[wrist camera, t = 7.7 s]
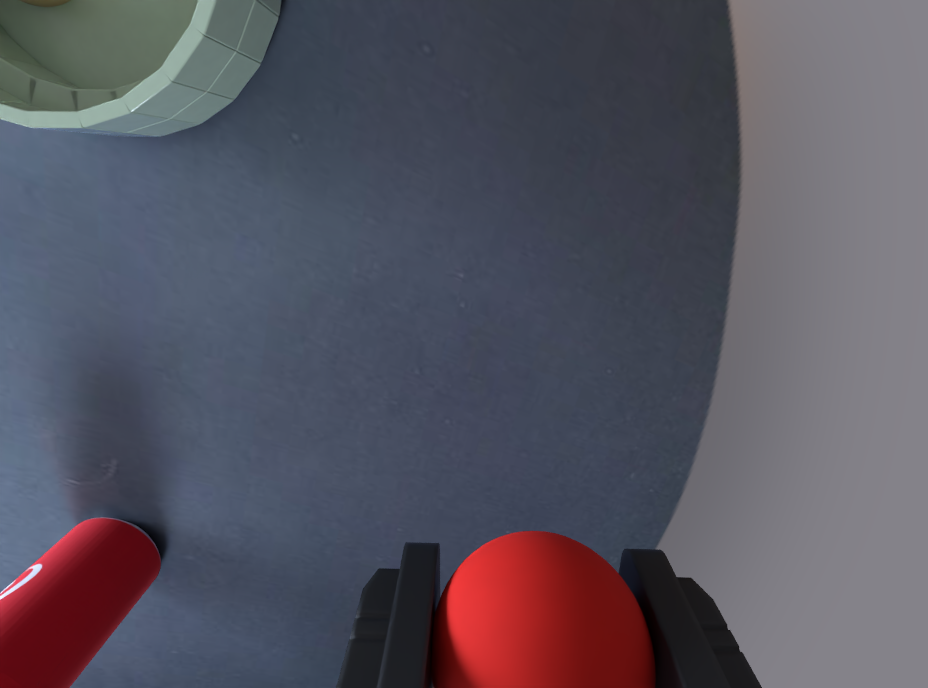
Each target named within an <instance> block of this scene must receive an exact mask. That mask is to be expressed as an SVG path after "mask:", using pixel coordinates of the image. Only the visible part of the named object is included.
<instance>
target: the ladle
mask: <svg viewBox="0 0 928 688" xmlns="http://www.w3.org/2000/svg"><path fill="white" fill-rule="evenodd" d="M19 1H22V2H25V3H27V4H30V5H34V6H40V7H54V6H58V5H62V4H64V3H67V2H69V1H70V0H19Z"/></svg>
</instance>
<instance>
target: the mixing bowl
mask: <svg viewBox="0 0 928 688" xmlns="http://www.w3.org/2000/svg"><path fill="white" fill-rule="evenodd" d="M280 7H281V0H70V1H69V2H67V3H64V4H62V5H58V6H54V7H40V6H34V5H30V4H27V3H25V2H22V1H19V0H0V119H1V120H5V121H8V122H12V123H15V124H19V125H22V126H26V127H30V128H38V129H48V130H58V131H69V132H79V133H89V134H99V135H110V136H129V137H159V136H164V135H168V134H171V133H174V132H177V131H181V130H184V129H187V128H190V127H194V126H197V125H199V124H202V123H203V122H205V121H206V120H207V119H209V118H210V117H212V116H213V115H214V114H216V113H217V112H219V111H220V110H221V109H223V108H224V107H226V106H227V105H228V104H230V103H231V102H233V101H234V99H236V97H237V96H238V95H239V93H240V92H241V91H242V89H243V88H244V87H245V85H246V84H247V83H248V81H249V80H250V79H251V77H252V76H253V75H254V73H255V72H256V70H257V69H258V68H259V66H260V65H261V62H262V61H263V58H264V55H265V53H266V50H267V48H268V45H269V42H270V40H271V37H272V34H273V32H274V29H275V26H276V24H277V21H278V18H279V17H278V16H279V15H280Z"/></svg>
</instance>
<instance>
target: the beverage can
mask: <svg viewBox="0 0 928 688" xmlns="http://www.w3.org/2000/svg"><path fill="white" fill-rule="evenodd" d="M160 567H161V558H160V554H159V551H158V549H157V547H156V545H155V543H154V542H153V541H152V539H151V538H150V536H149V535H148V534H147V533H146V532H145V531H143V530H142V529H141V528H139V527H138V526H136V525H134V524H132V523H129V522H126V521H124V520H120V519H115V518H105V517H100V518H92V519H88V520H86V521H83V522H81V523H79V524H78V525H77V526H75V527H74V528H73V529H72V530H71V531H70V532H69V533H68V534H66V535H65V536H64V537H63V538H62V539H61V540H60V541H59V542H57V543H56V544H55V545H54V546H53V547H52V548H51V549H50V550H48V551H47V552H46V553H45V554H44V555H43V556H42V557H41V558H39V559H38V560H37V561H36V562H35V563H34V564H33V565H31V566H30V567H29V568H28V569H27V570H26V571H25V572H24V573H22V574H21V575H20V576H19V577H18V578H17V579H16V580H15V581H13V582H12V583H11V584H10V585H9V586H8V587H7V588H6V589H4V590H3V591H2V592H1V593H0V688H70V686H71V685H72V684H73V682H74V681H75V680H76V679H77V677H78V676H79V675H80V674H81V672H82V671H83V670H84V669H85V667H86V666H87V665H88V663H89V662H90V661H91V660H92V658H93V657H94V656H95V655H96V653H97V652H98V651H99V650H100V648H101V647H102V646H103V644H104V643H105V642H106V641H107V639H108V638H109V637H110V636H111V634H112V633H113V632H114V630H115V629H116V628H117V627H118V625H119V624H120V623H121V622H122V620H123V619H124V618H125V617H126V615H127V614H128V613H129V611H130V610H131V609H132V608H133V606H134V605H135V604H136V603H137V601H138V600H139V599H140V598H141V596H142V595H143V594H144V592H145V591H146V590H147V589H148V587H149V586H150V585H151V584H152V582H153V581H154V580H155V579H156V577H157V576H158V574H159V571H160Z"/></svg>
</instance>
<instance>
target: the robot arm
mask: <svg viewBox="0 0 928 688" xmlns="http://www.w3.org/2000/svg"><path fill="white" fill-rule="evenodd" d="M619 575H620V576H621V577H622V579H623V580H624V581H625V583H626V584H627V585H628V587H629V589H630V590H631V592H632V593H633V595H634V596H635V598H636V600H637V602H638V604H639V606H640V608H641V611H642V613H643V615H644V617H645V620H646V623H647V627H648V630H649V633H650V637H651V640H652V645H653V651H654V658H655V673H656V683H655V688H762V687H761V685H760V683H759V682H758V680H757V678H756V676H755V674H754V673H753V671H752V669H751V667H750V665H749V664H748V662H747V660H746V658H745V656H744V654H743V653H742V652H740V650H739V646H738V644H737V642H736V640H735V638H734V636H733V635H732V633H731V631H730V630H728V628H727V624H726V622H725V621H724V619H723V617H722V615H721V613H720V611H719V610H718V607H717V606H716V604H715V602H714V601H713V599H712V598H711V597H710V596H709V595H708V594H707V593H706V592H705V591H704V590H703V589H702V588H701V587H700V586H699V585H698V584H697V583H696V582H695V581H694V580H693V579H692V578H681V577H676V575H675V573H674V571H673V569H672V567H671V565H670V563H669V561H668V559H667V557H666V555H665V554H664V552H663V551H661V550H652V549H624V550H623V553H622V557H621V563H620V569H619ZM439 600H440V545H439V543H408V542H406V543H405V546H404V550H403V555H402V560H401V566H400V569H378V570H377V571H376V573H375V574H374V575H373V577H372V578H371V579H370V580H369V582H368V583H367V584H366V586H365V587H364V588H363V591H362V595H361V598H360V602H359V606H358V609H357V613H356V618H355V620H354V624H353V628H352V631H351V638H350V639H349V642H348V646H347V650H346V653H345V657H344V661H343V664H342V668H341V672H340V675H339V679H338V683H337V686H336V688H434V687H433V682H432V675H431V655H432V635H433V623H434V615H435V612H436V609H437V605H438V602H439Z"/></svg>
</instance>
